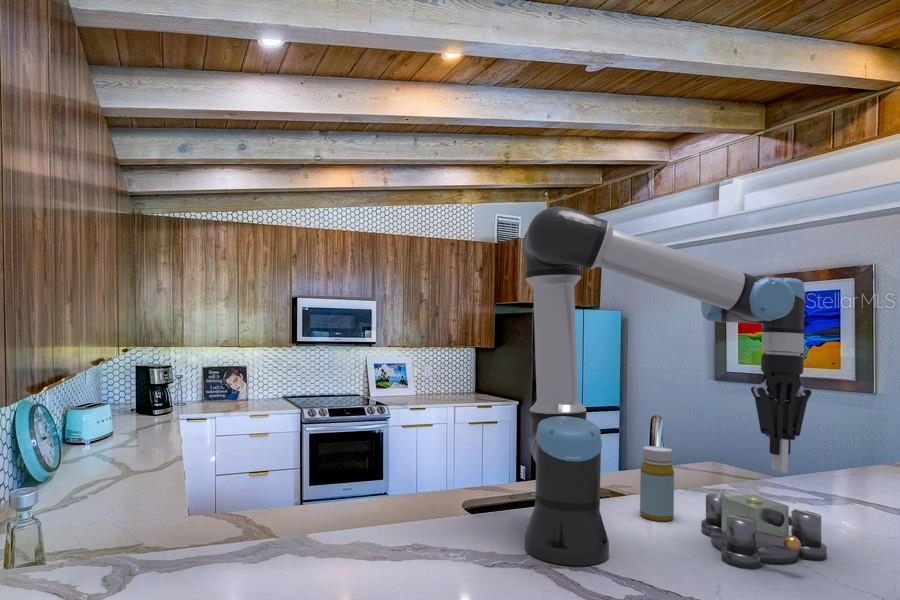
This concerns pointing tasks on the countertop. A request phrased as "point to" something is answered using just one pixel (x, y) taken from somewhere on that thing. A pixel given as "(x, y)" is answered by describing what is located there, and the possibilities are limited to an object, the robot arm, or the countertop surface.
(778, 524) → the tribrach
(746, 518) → the foot screw
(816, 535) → the foot screw
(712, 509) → the foot screw
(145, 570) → the countertop surface
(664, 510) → the bottle
